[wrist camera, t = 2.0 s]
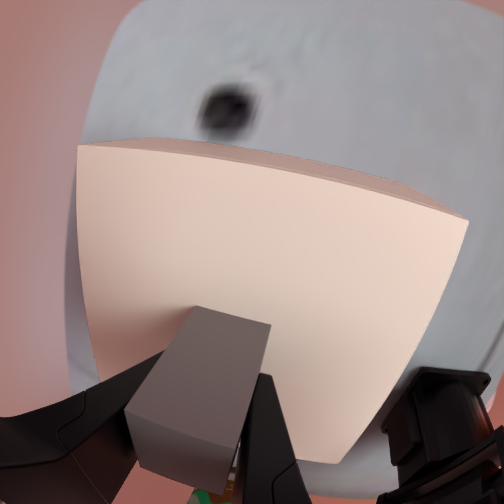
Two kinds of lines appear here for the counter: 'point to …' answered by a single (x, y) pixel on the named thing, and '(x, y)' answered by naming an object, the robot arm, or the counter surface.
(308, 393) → the lid
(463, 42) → the counter surface
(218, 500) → the food container
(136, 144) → the carton
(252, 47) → the counter surface
